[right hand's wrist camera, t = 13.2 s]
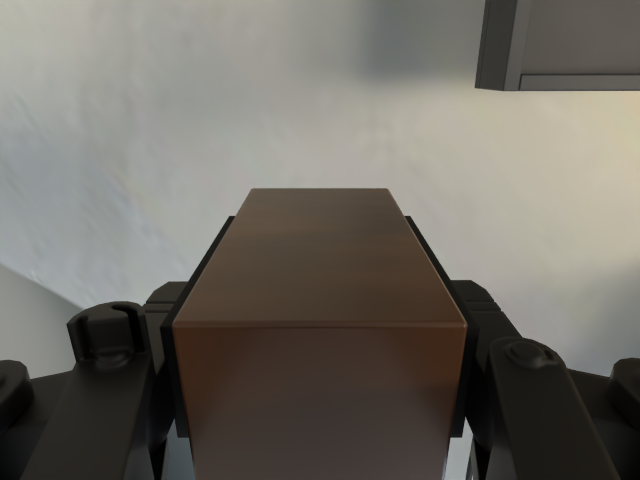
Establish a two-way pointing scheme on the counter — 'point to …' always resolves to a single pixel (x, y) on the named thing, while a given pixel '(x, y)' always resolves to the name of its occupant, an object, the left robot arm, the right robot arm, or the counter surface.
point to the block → (319, 344)
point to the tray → (560, 45)
